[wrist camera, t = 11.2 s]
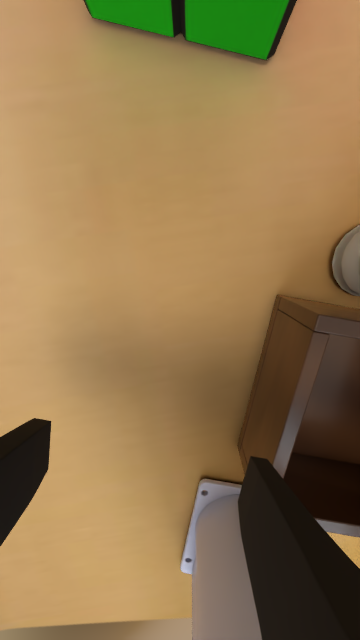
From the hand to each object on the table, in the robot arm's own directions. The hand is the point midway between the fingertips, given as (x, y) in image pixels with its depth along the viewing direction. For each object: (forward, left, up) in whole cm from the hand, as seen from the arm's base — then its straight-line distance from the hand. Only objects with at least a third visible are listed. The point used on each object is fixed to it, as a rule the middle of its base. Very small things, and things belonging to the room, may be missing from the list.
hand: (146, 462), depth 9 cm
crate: (0, -11, -9) cm, 14 cm away
